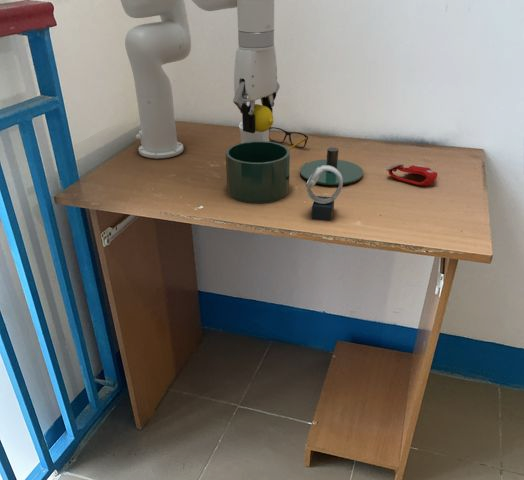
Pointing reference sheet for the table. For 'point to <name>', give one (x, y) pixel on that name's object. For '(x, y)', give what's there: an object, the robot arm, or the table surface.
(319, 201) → the watch
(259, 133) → the white cup
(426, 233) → the table surface
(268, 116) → the lemon
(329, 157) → the lid
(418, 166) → the tracker holder
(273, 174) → the pot
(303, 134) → the eyeglasses
